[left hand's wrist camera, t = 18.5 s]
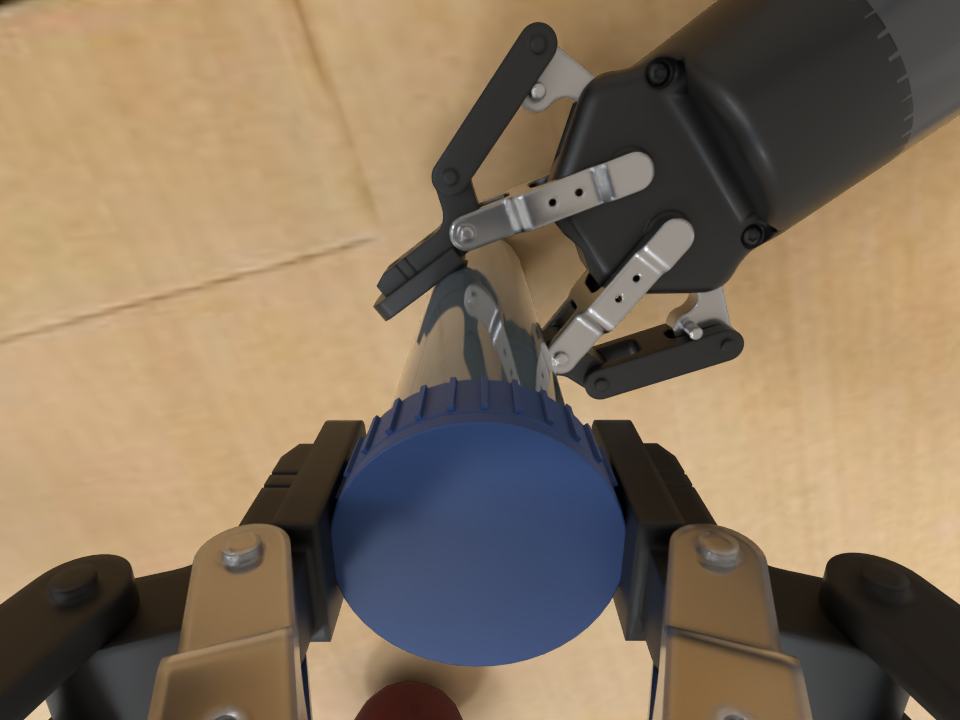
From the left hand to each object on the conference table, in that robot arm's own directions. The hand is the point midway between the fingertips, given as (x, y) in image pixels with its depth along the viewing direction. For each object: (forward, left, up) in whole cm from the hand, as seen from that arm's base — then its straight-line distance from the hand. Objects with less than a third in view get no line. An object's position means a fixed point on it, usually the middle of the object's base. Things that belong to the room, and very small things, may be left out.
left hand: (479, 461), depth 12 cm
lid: (0, 0, +3) cm, 3 cm away
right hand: (0, -3, -11) cm, 11 cm away
